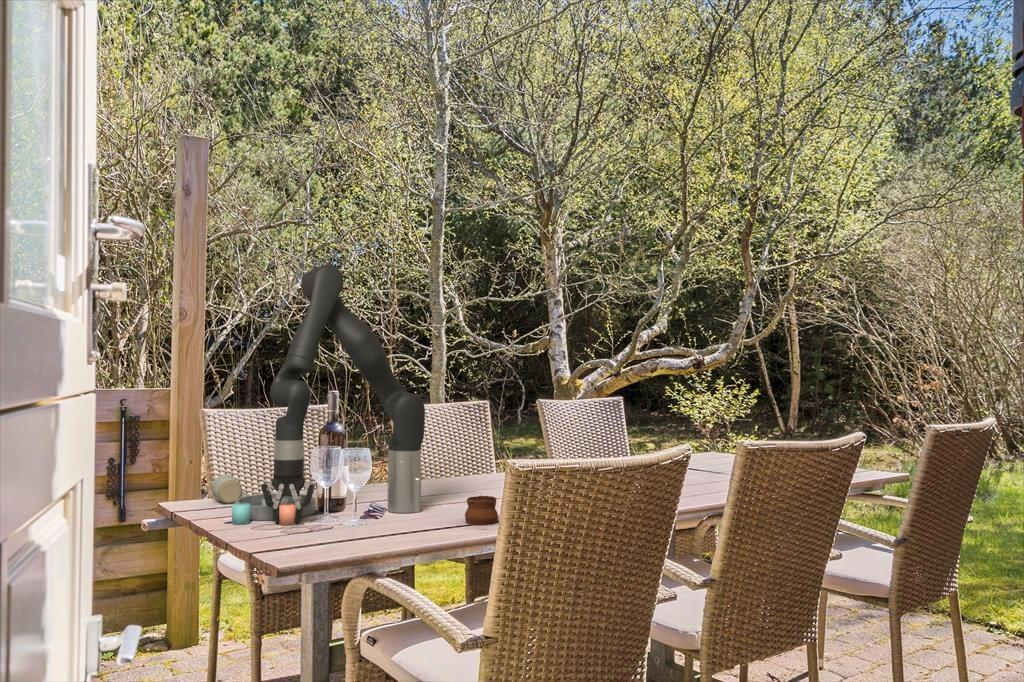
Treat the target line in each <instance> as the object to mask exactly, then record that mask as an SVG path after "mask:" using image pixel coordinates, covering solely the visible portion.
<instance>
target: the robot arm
mask: <svg viewBox="0 0 1024 682" xmlns="http://www.w3.org/2000/svg"><path fill="white" fill-rule="evenodd" d="M344 282H345V281H344V276H343V274H342V271H340V269H339V268H337V267H336V266H335V265H333V264H323V265H319V266H317V267H314V268H313V269H311V270H308V271H307V272H305V273H304V274H303V276H302V277H301V280H300V284H301V285H300V287H301V290H302V293H303V295H304V297H305V298H306V299H307V300H308V301H309V304H308V307H307V309H306V313H305V315H304V316H303V318H302V320H301V321H300V324H299V325H298V326H297V329H296V330H295V333H294V335H293V337H292V339H291V342H290V345H289V348H288V352H287V354H286V359H285V361H284V363H283V365H282V366H281V368H279V371H278V373H277V374H276V376H275V378H274V379H273V381H272V383H271V386H270V391H269V396H270V397H269V398H270V400H271V402H272V403H273V404H274V406H278V407H284V408H285V407H287V411H286V413H285V415H283V416H280V417H278V418H277V419H276V421H275V436H274V437H275V440H274V447H273V478H272V479H271V481H269V482H263V483H262V484H261V486H260V488H261V491H262V494H263V495H264V499H265V503H266V506H268V507H269V506H270V507H272V508H273V510H274V513H273V519H274V520H273V522H275V524H279V505H280V503H281V500H282V498H283V497H285V496H290V497H293V500H294V502H295V505H296V508H297V509H296V515H295V523H296V525H299V523H301V521H302V520H303V517H302V509H303V508H304V507H307V506H308V505H309V504H310V501H311V498H312V497H313V495H314V491H315V487H316V484H315V483H314V482H312V483H311V482H308V481H306V480H305V478H304V477H305V476H304V470H305V469H304V467H305V445H304V444H305V443H304V425H305V424H304V423H305V420H306V418H307V417H306V416H307V413H308V409H309V406H310V402H311V390H310V386H309V385H308V383H307V382H305V381H304V380H299V379H300V377H302V376H304V375H307V374H309V373H310V372H311V371H312V370H313V366H314V363H315V359H316V356H317V352H318V348H319V345H320V342H321V339H322V336H323V334H324V331H325V327H326V326H327V325H328V326H329V328H330V330H331V331H332V333H333V334H334V336H335V337H336V338H337V340H338V342H339V343H340V345H341V346H342V348H343V349H344V350H345V352H346V354H347V355H348V357H349V358H350V360H351V362H352V363H353V364H354V365H355V367H356V368H357V370H358V372H360V373H361V375H362V377H363V378H364V380H366V382H367V383H368V384H369V385H370V387H371V388H372V390H373V392H374V393H375V395H376V396H377V398H378V400H379V402H380V404H381V406H382V408H383V410H384V412H385V414H386V416H387V418H388V419H389V420H391V422H392V423H393V424H392V435H391V437H390V438H389V440H388V446H387V448H388V450H387V451H388V452H387V453H388V455H387V456H388V457H387V458H388V461H387V504H386V505H387V508H386V510H387V511H388V512H391V513H398V514H406V513H407V514H408V513H409V514H410V513H420V511H421V508H422V475H421V474H422V467H421V466H422V443H423V441H424V437H425V425H426V423H425V421H426V411H425V410H426V409H425V404H424V401H423V400H422V398H421V397H420V396H419V395H417V394H414V393H410V392H408V391H407V390H406V389H405V388H404V387H403V385H402V384H401V383H400V381H399V380H398V379H397V377H396V376H395V374H394V372H393V370H392V368H391V365H390V362H389V361H390V360H389V359H388V356H387V355H388V354H387V352H386V350H385V348H384V347H383V345H382V344H381V342H380V341H379V338H378V337H377V335H376V333H374V332H373V330H372V329H371V327H370V326H368V325H367V324H366V323H365V322H363V320H361V319H360V318H359V317H357V315H355V314H353V313H352V312H351V311H350V310H349V309H348V308H347V307H346V306H345V304H344V303H343V301H342V300H341V298H340V294H341V292H342V290H343V288H344ZM272 487H273V488H274V490H275V491H276V493H277V495H276V498H275V502H274V501H273V500H272V497H271V493H272V492H271V490H272ZM304 487H305V488H304ZM303 488H304V490H305V492H306V494H305V495H306V497H305V500H304V502H302V500H301V495H300V494H301V490H302V489H303Z"/></svg>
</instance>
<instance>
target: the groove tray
mask: <svg viewBox="0 0 1024 682" xmlns="http://www.w3.org/2000/svg"><path fill="white" fill-rule="evenodd" d="M270 493H271V497H272V500H273V501H274V502H275V498H276V495H277V492H270ZM300 495H301V500H302V502H304V500H305V497H306V494H304V493H303V494H302V493H300ZM234 503H250V520H254V521H274V519H273V513H274V510H273V508H272V507H270V506H269V507H268V506H266V503H265V499H264V495H263V493H258V494H249V496H245V497H240V498H238V499H236V500H235V501H234ZM234 503H233V504H234ZM284 503H294V504H295V502H294V500H293V497H290V496H285V497H283V498H282V500H281V503H280V504H284ZM315 505H316V499H315V498H314V497H313V496H312V498H311V501H310V504H309V505H308V506H307V507H304V508H303V509H302V518H303V517H304V518H305V517H307V516H308V517H309V516H311V515H313V513H314V512H315V510H316V509H315V508H316V506H315Z"/></svg>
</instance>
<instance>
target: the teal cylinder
mask: <svg viewBox="0 0 1024 682" xmlns="http://www.w3.org/2000/svg"><path fill="white" fill-rule="evenodd" d="M231 504H232V505H231V506H232V507H231V508H232V511H231V524H232V525H234V526H246V525H247V526H248V525H250V523H251V521H250V520H251V519H250V503H231Z"/></svg>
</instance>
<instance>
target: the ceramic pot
mask: <svg viewBox="0 0 1024 682" xmlns="http://www.w3.org/2000/svg"><path fill="white" fill-rule="evenodd" d="M466 503H467V509H466V511H465V512H464V519H465V524H468V525H471V526H482V527H484V526H492V525H494V524H496V523H497V521H498V518H499V516H498V515H499V514H498V511H497V509H496V505H497V498H496V497H495V496H491V495H478V496H477V495H475V496H470V497H468V498H467V499H466ZM478 530H482V531H484V530H487V528H479V529H478Z"/></svg>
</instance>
